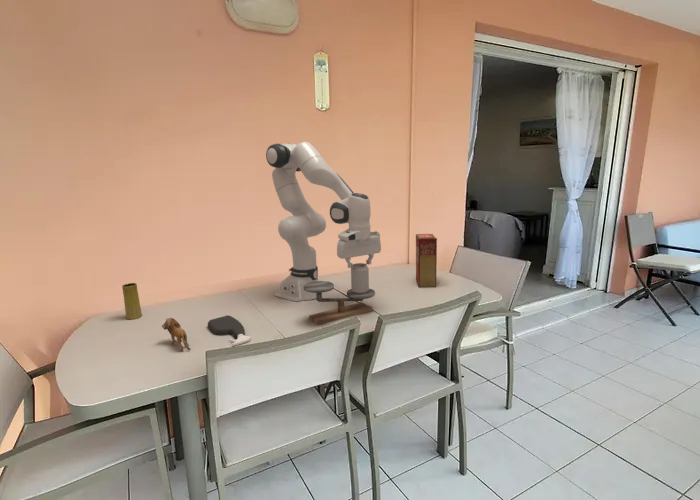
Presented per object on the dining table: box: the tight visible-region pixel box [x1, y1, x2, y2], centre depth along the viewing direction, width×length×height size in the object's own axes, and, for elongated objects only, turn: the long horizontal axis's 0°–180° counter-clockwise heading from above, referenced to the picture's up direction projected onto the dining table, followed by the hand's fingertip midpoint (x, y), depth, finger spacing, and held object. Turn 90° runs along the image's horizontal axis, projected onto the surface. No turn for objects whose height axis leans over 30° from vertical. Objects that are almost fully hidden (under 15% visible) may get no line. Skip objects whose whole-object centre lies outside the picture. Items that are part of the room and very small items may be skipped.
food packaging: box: [415, 233, 438, 288], centre depth 197 cm, size 13×9×25 cm
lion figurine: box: [161, 317, 191, 352], centre depth 136 cm, size 15×5×9 cm, turn 52°
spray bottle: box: [207, 314, 252, 347], centre depth 146 cm, size 3×11×24 cm
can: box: [350, 262, 370, 294], centre depth 164 cm, size 8×8×12 cm
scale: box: [303, 280, 376, 326], centre depth 160 cm, size 12×32×15 cm, turn 123°
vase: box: [121, 282, 143, 321], centre depth 163 cm, size 6×6×14 cm
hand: (359, 265), depth 163 cm, fingers open, 8 cm apart
